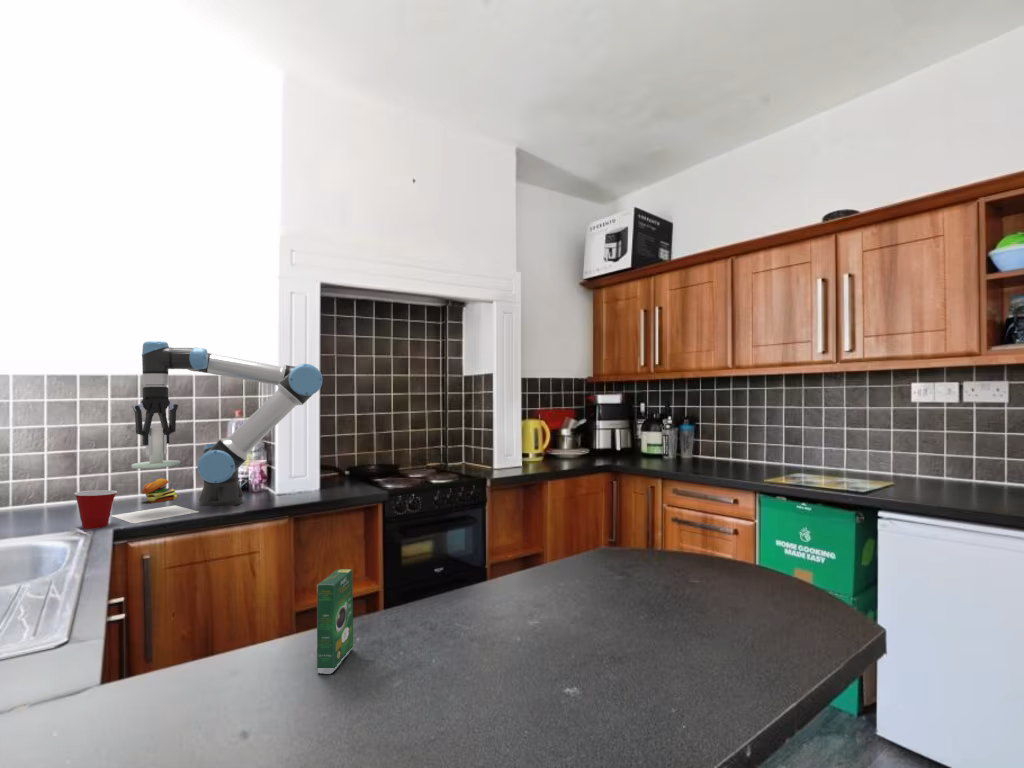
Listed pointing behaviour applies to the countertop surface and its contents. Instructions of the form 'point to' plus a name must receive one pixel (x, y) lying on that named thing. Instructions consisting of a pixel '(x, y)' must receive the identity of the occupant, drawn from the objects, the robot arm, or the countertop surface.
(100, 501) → the plastic cup
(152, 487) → the cheeseburger
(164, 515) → the mat
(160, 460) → the lid
